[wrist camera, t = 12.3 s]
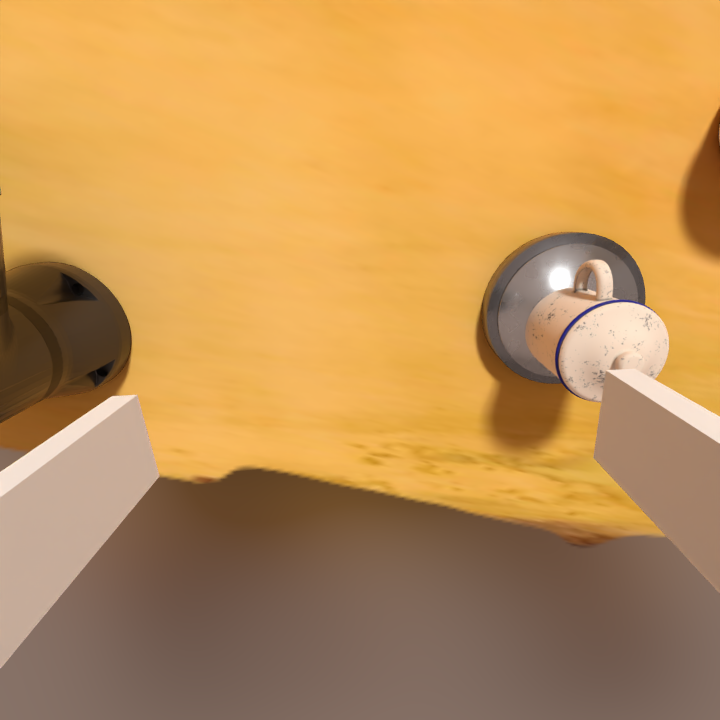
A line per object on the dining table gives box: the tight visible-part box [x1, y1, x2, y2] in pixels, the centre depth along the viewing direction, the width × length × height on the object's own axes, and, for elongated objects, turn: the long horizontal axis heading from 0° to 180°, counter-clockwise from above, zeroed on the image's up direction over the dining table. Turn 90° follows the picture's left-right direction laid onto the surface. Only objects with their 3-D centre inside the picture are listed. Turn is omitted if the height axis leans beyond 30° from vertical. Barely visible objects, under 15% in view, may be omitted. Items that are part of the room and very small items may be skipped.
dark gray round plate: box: [482, 232, 645, 384], centre depth 43 cm, size 16×16×3 cm
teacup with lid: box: [525, 260, 669, 402], centre depth 36 cm, size 12×9×12 cm
